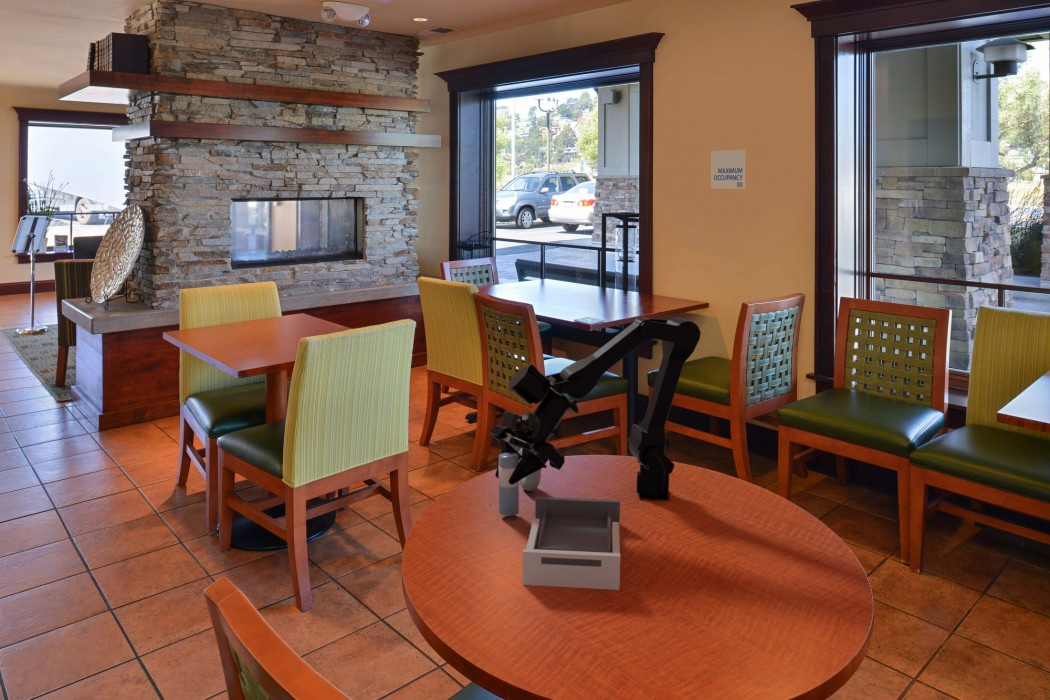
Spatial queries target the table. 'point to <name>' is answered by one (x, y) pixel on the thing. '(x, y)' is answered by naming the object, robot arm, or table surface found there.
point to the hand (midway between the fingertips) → (503, 480)
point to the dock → (571, 565)
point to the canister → (508, 485)
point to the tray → (576, 523)
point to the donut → (530, 479)
